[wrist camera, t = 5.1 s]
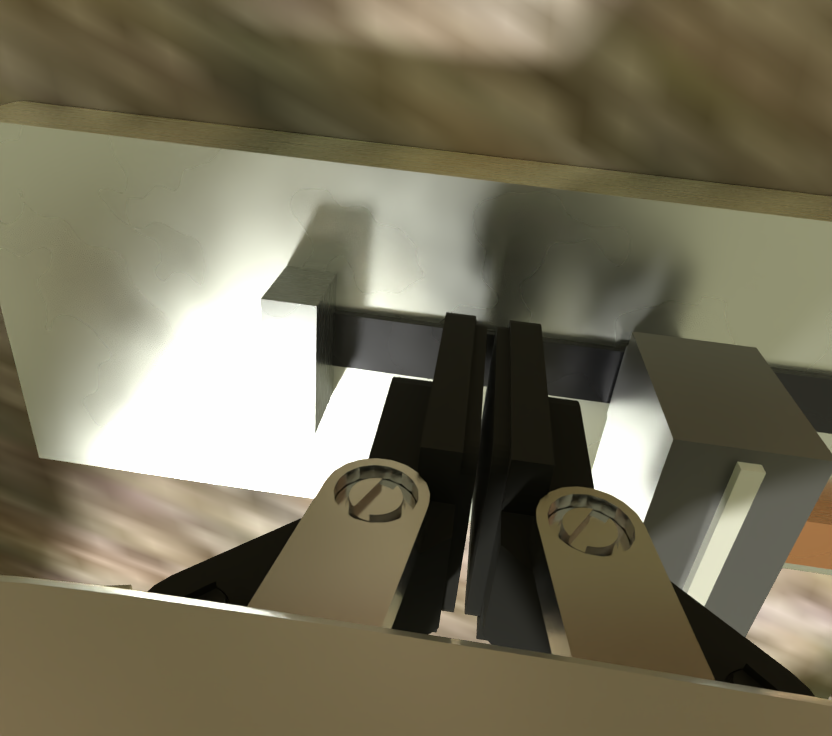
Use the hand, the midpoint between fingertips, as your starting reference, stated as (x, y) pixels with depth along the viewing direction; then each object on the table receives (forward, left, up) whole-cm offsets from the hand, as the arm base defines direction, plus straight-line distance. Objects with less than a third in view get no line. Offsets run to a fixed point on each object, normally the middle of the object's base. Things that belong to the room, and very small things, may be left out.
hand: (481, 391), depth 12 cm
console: (-1, -1, -4) cm, 4 cm away
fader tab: (0, -3, -1) cm, 4 cm away
